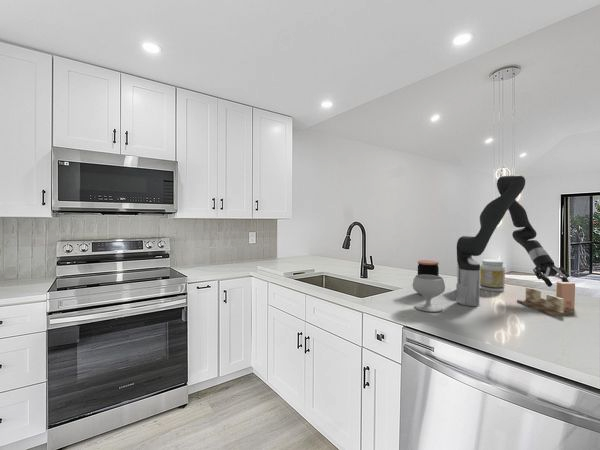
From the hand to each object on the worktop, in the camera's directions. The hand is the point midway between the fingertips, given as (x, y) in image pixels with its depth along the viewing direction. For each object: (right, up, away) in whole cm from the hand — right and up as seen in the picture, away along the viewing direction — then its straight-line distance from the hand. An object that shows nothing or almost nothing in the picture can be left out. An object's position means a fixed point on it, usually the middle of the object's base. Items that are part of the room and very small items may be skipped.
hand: (559, 285), depth 144 cm
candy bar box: (-31, -9, +27) cm, 42 cm away
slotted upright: (0, -10, -3) cm, 10 cm away
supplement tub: (-12, -9, +32) cm, 36 cm away
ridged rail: (-10, -10, -3) cm, 14 cm away
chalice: (-64, -10, -3) cm, 65 cm away
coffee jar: (-54, -9, +23) cm, 59 cm away
